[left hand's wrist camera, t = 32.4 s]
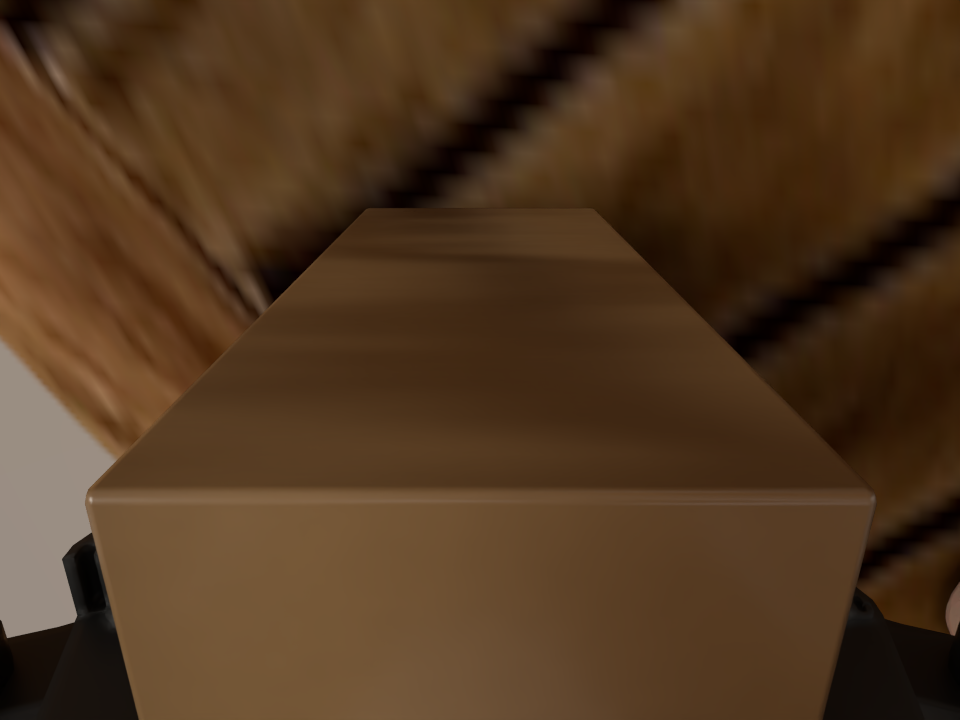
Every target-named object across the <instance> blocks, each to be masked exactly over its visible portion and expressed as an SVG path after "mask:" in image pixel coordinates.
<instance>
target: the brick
mask: <svg viewBox="0 0 960 720" xmlns="http://www.w3.org/2000/svg"><path fill="white" fill-rule="evenodd" d="M876 505H877V503H876V496H875V493H874V490H873V489H872V488H871V487H870V486H869V485H868V484H867V483H866V482H865V481H864V480H863V479H862V478H861V477H860V476H859V475H858V474H857V473H856V472H855V471H854V470H853V469H852V468H851V467H850V466H849V465H848V464H847V463H846V462H845V461H844V460H843V459H842V458H841V457H840V456H839V455H838V454H837V453H836V452H835V451H834V450H833V449H832V448H831V447H830V446H829V445H828V444H827V443H826V442H825V441H824V440H823V439H822V438H821V437H820V436H819V435H818V434H817V433H816V432H815V430H814V429H813V428H812V427H811V426H810V425H809V424H808V423H807V422H806V421H805V420H804V419H803V418H802V417H801V416H800V415H799V414H798V413H797V412H796V411H795V410H794V409H793V408H792V407H791V406H790V405H789V404H788V403H787V402H786V401H785V400H784V399H783V398H782V397H781V396H780V395H779V394H778V393H777V392H776V391H775V390H774V389H773V388H772V387H771V386H770V385H769V384H768V383H767V382H766V381H765V380H764V379H763V378H762V377H761V376H760V375H759V374H758V373H757V372H756V371H755V370H754V369H753V368H752V367H751V366H750V365H749V364H748V363H747V362H746V361H745V360H744V359H743V358H742V357H741V356H740V355H739V354H738V353H737V352H736V351H735V350H734V349H733V348H732V347H731V346H730V345H729V344H728V343H727V342H726V341H725V340H724V339H723V338H722V337H721V336H720V335H719V334H718V333H717V332H716V331H715V330H714V329H713V328H712V327H711V326H710V325H709V324H708V323H707V322H706V321H705V320H704V319H703V318H702V317H701V316H700V315H699V314H698V313H697V312H696V311H695V310H694V309H693V308H692V307H691V306H690V305H689V304H688V303H687V302H686V301H685V300H684V299H683V298H682V297H681V296H680V295H679V294H678V293H677V292H676V291H675V290H674V289H673V288H672V287H671V286H670V285H669V284H668V283H667V282H666V281H665V280H664V279H663V278H662V277H661V276H660V275H659V274H658V273H657V272H656V271H655V270H654V269H653V268H652V267H651V266H650V265H649V264H648V263H647V262H646V261H645V260H644V259H643V258H642V257H641V256H640V255H639V254H638V253H637V252H636V251H635V250H634V249H633V248H632V247H631V246H630V245H629V244H628V243H627V242H626V241H625V240H624V239H623V238H622V237H621V236H620V235H619V234H618V233H617V232H616V231H615V230H614V229H613V228H612V227H611V226H610V225H609V224H608V223H607V222H606V221H605V220H604V219H603V218H602V217H601V216H600V215H599V214H598V213H597V212H596V211H595V210H594V209H592V208H369V209H366V210H365V211H364V212H363V213H362V214H361V215H360V216H359V217H358V218H357V219H356V220H355V221H354V222H353V223H352V224H351V225H350V226H349V227H348V228H347V229H346V230H345V231H344V232H343V233H342V234H341V235H340V236H339V237H338V238H337V239H336V240H335V241H334V242H333V243H332V244H331V245H330V246H329V247H328V248H327V249H326V250H325V251H324V252H323V253H322V254H321V255H320V256H319V258H318V259H317V260H316V261H315V262H314V263H313V264H312V265H311V266H310V267H309V268H308V269H307V270H306V271H305V272H304V273H303V274H302V275H301V276H300V277H299V278H298V279H297V280H296V281H295V282H294V283H293V284H292V285H291V286H290V287H289V288H288V289H287V290H286V291H285V292H284V293H283V294H282V295H281V296H280V297H279V298H278V299H277V300H276V301H275V302H274V303H273V304H272V305H271V306H270V307H269V308H268V309H267V310H266V311H265V312H264V313H263V314H262V315H261V316H260V317H259V318H258V319H257V320H256V321H255V322H254V323H253V324H252V325H251V326H250V327H249V328H248V329H247V330H246V331H245V332H244V333H243V334H242V335H241V336H240V337H239V338H238V339H237V340H236V341H235V342H234V343H233V344H232V345H231V346H230V347H229V348H228V349H227V350H226V351H225V352H224V353H223V354H222V355H221V356H220V357H219V358H218V359H217V360H216V361H215V362H214V363H213V364H212V365H211V366H210V367H209V368H208V369H207V370H206V371H205V372H204V373H203V374H202V375H201V376H200V377H199V378H198V379H197V380H196V381H195V382H194V383H193V384H192V385H191V386H190V387H189V388H188V389H187V390H186V391H185V392H184V393H183V394H182V395H181V396H180V398H179V399H178V400H177V401H176V402H175V403H174V404H173V405H172V406H171V407H170V408H169V409H168V410H167V411H166V412H165V413H164V414H163V415H162V416H161V417H160V418H159V419H158V420H157V421H156V422H155V423H154V424H153V425H152V426H151V427H150V428H149V429H148V430H147V431H146V432H145V433H144V434H143V435H142V436H141V437H140V438H139V439H138V440H137V441H136V442H135V443H134V444H133V445H132V446H131V447H130V448H129V449H128V450H127V451H126V452H125V453H124V454H123V455H122V456H121V457H120V458H119V459H118V460H117V461H116V462H115V463H114V464H113V465H112V466H111V467H110V468H109V469H108V470H107V471H106V472H105V473H104V474H103V475H102V476H101V477H100V478H99V479H98V480H97V481H96V482H95V483H94V484H93V485H92V486H91V487H90V488H89V489H88V492H87V495H86V501H85V506H86V510H87V513H88V517H89V522H90V525H91V530H92V534H93V538H94V542H95V546H96V550H97V554H98V558H99V562H100V566H101V570H102V574H103V578H104V582H105V586H106V590H107V594H108V598H109V602H110V606H111V610H112V614H113V618H114V622H115V626H116V630H117V634H118V638H119V642H120V646H121V650H122V654H123V658H124V662H125V666H126V670H127V674H128V678H129V682H130V686H131V690H132V694H133V698H134V702H135V706H136V710H137V714H138V718H139V720H823V716H824V712H825V708H826V704H827V700H828V696H829V692H830V688H831V684H832V680H833V676H834V672H835V668H836V664H837V660H838V656H839V652H840V648H841V644H842V640H843V636H844V632H845V628H846V624H847V620H848V616H849V612H850V608H851V604H852V600H853V596H854V592H855V588H856V584H857V580H858V576H859V572H860V569H861V565H862V561H863V557H864V553H865V549H866V545H867V541H868V537H869V533H870V529H871V525H872V521H873V517H874V513H875V509H876Z"/></svg>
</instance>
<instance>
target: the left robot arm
mask: <svg viewBox="0 0 960 720" xmlns="http://www.w3.org/2000/svg"><path fill="white" fill-rule="evenodd" d="M62 561H63V564H64V568H65V572H66V575H67V579H68V583H69V586H70V590H71V594H72V597H73V601H74V604H75V608H76V612H77V618H76V620H75V622H74V623H71V624H67V625H64V626H60V627H56V628H52V629H47V630H42V631H38V632H33V633H29V634H24V635H20V636H15V637H11V638H7V637H6V634H5V631H4V628H3V624H2V621H1V620H0V720H139V718H138V714H137V710H136V706H135V702H134V698H133V694H132V690H131V686H130V682H129V678H128V674H127V670H126V666H125V662H124V658H123V654H122V650H121V646H120V642H119V638H118V634H117V630H116V626H115V622H114V618H113V614H112V610H111V606H110V602H109V598H108V594H107V590H106V586H105V582H104V578H103V574H102V570H101V566H100V562H99V558H98V554H97V550H96V546H95V542H94V538H93V534H92V533H90V534H89V535H87V536H86V537H84V538H83V539H82V540H80V541H79V542H77V543H76V544H74V545H73V546H72V547H71V549H70V550H69V551H68V552H67V554H66V555H65V556H64V557H63V559H62ZM823 720H960V621H959V624H958V627H957V630H956V633H955V636H954V635H949V634H945V633H940V632H936V631H931V630H926V629H922V628H917V627H913V626H908V625H904V624H900V623H897V622H893V621H890V620H886V619H884V617H883V614H882V613H881V612H880V610H879V609H878V607H877V606H876V604H875V603H874V601H873V600H872V599H871V598H869V597H868V596H867V595H866V594H864V593H863V592H862V591H861V590H859V589H858V588H857V587H856V588H855V592H854V596H853V600H852V604H851V608H850V612H849V616H848V620H847V624H846V628H845V632H844V636H843V640H842V644H841V648H840V652H839V656H838V660H837V664H836V668H835V672H834V676H833V680H832V684H831V688H830V692H829V696H828V700H827V704H826V708H825V712H824V716H823Z"/></svg>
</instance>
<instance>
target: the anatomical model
mask: <svg viewBox="0 0 960 720" xmlns="http://www.w3.org/2000/svg"><path fill="white" fill-rule="evenodd" d="M959 621H960V582H959V583H958V585H957V586H956V588H955V589H954V591H953V592H952V594H951V596H950V599H949V601H948V604H947V607H946V623H947V626H948V629H949V631H950V634H951V635H954V636H955V633H956V630H957V627H958V624H959Z"/></svg>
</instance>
